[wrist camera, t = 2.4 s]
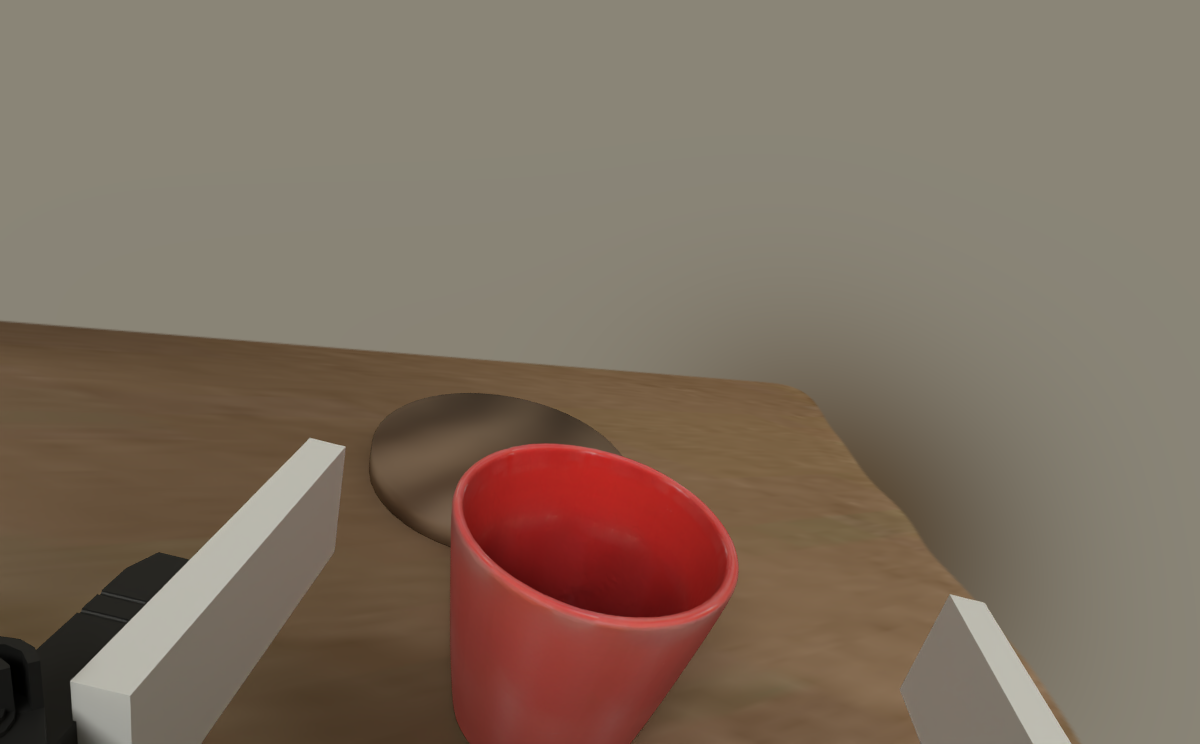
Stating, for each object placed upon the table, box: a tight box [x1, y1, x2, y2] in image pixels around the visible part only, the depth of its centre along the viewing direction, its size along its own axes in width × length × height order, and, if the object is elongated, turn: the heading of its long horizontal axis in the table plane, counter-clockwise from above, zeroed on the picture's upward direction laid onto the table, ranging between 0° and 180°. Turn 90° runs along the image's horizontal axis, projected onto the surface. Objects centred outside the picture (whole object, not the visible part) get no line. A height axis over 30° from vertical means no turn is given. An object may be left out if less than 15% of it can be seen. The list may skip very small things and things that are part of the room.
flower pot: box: [450, 443, 739, 744], centre depth 29 cm, size 11×11×10 cm
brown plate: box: [369, 393, 621, 547], centre depth 45 cm, size 16×16×2 cm
